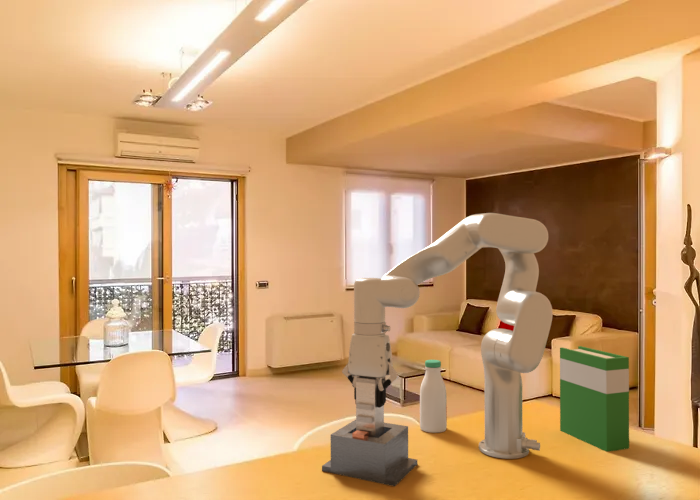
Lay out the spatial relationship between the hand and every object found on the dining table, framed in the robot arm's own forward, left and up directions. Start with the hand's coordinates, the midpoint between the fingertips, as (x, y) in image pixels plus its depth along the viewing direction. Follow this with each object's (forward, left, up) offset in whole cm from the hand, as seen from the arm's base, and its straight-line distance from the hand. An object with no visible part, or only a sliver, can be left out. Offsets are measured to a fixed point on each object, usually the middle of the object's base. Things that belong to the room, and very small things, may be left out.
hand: (370, 403), depth 133 cm
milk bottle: (-4, -34, -16) cm, 38 cm away
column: (0, 0, -15) cm, 15 cm away
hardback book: (-46, -46, -16) cm, 67 cm away
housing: (0, 0, -15) cm, 15 cm away
